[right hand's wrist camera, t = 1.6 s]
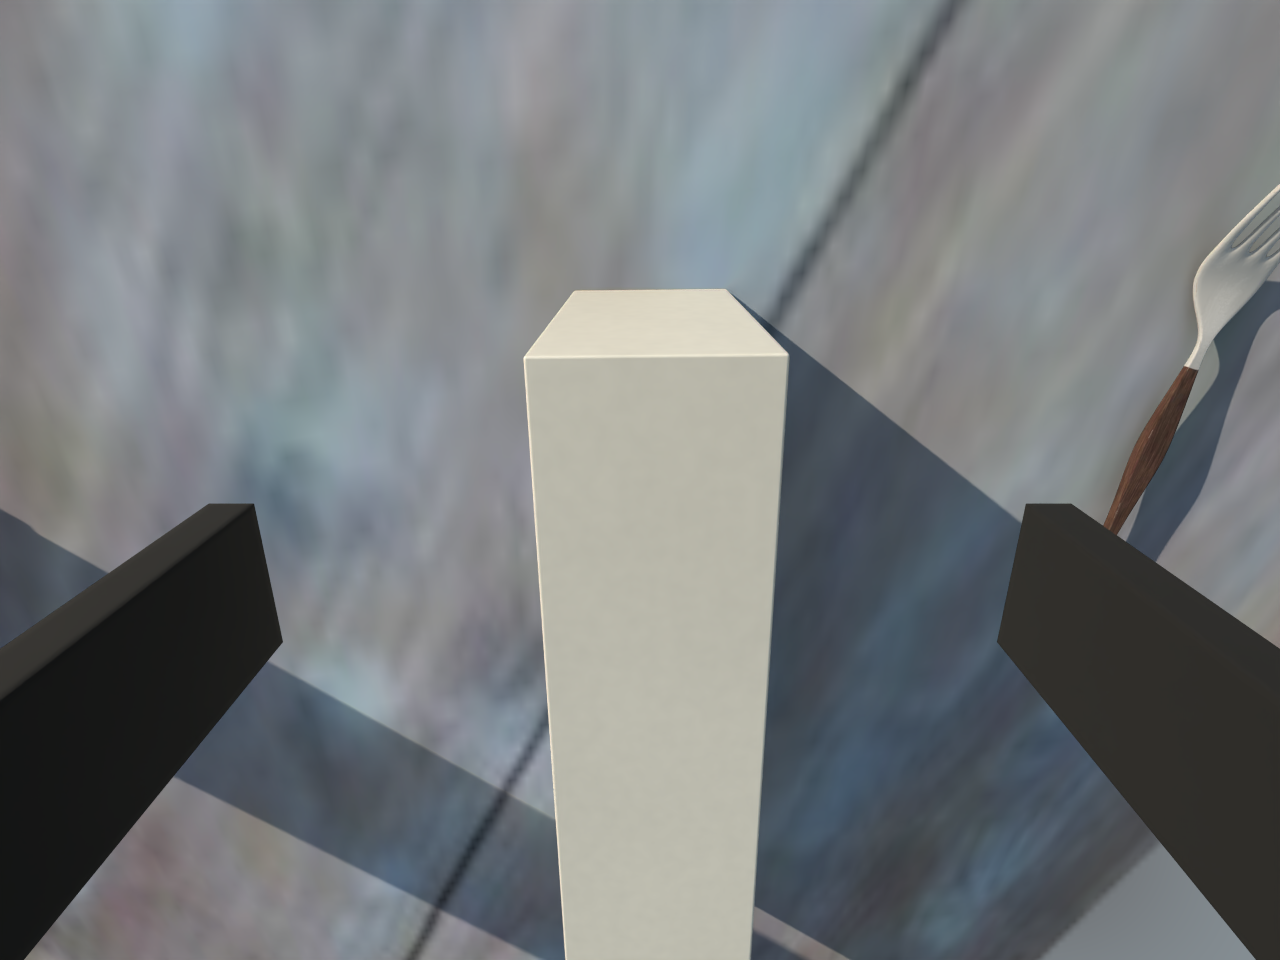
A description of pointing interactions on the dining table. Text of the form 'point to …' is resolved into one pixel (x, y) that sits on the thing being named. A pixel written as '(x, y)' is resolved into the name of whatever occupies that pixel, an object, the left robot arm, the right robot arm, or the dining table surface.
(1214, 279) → the fork
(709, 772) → the box
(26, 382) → the dining table surface
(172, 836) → the dining table surface
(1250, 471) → the dining table surface
